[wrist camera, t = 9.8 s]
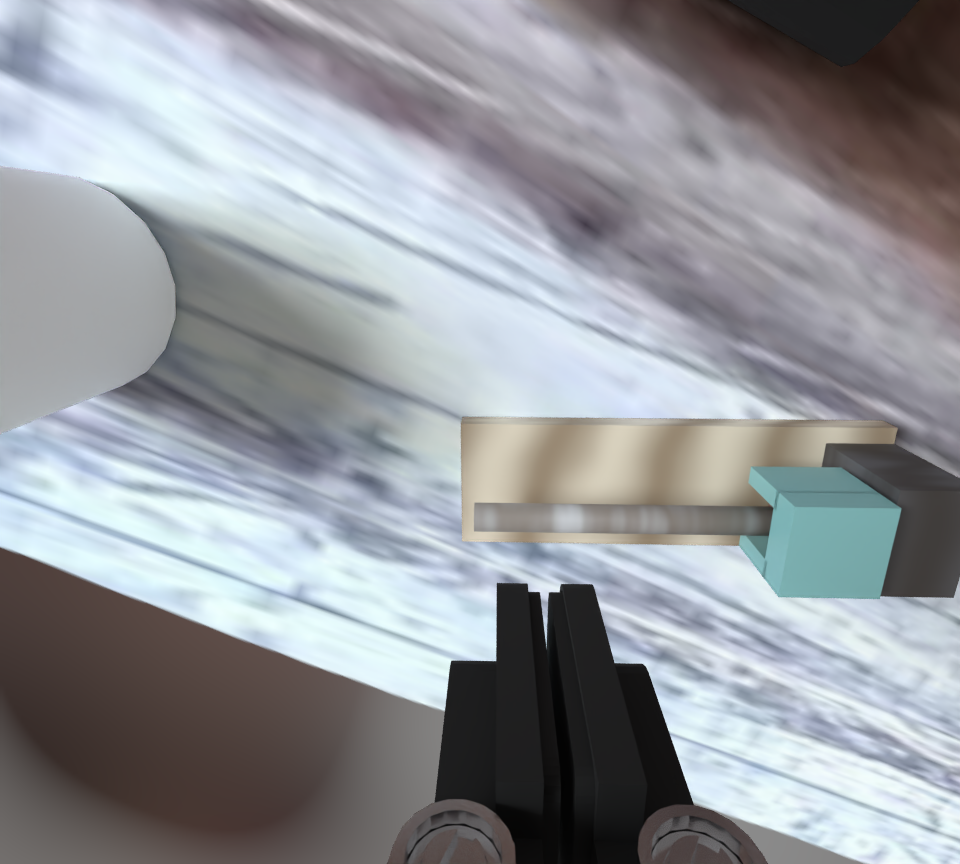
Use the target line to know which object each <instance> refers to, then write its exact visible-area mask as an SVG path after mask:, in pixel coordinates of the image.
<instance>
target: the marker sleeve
mask: <svg viewBox="0 0 960 864" xmlns="http://www.w3.org/2000/svg"><path fill="white" fill-rule="evenodd" d="M748 483H749V484H750V485H751V486H752V487H753V488H754V489H755V490H756V491H757V492H758V493H759V494H760V495H761V496H762V497H763V498H764V499H765V500H766V501H767V502H768V503H769V504H770V505H771V506H772V507H773V508H774V509H773V515H772V521H771V527H770V533H769V536H741V535H740V541H739V546H740V547H741V549H742V550H743V551H744V553H745V554H746V555H747V557H748V558H749V559H750V560H751V562H752V563H753V564H754V566H755V567H756V568H757V570H758V571H759V572H760V573H761V575H762V576H763V577H764V579H765V580H766V581H767V583H768V584H769V585H770V586H771V588H772V589H773V590H774V592H775V593H776V594H777V596H778V597H801V598H856V599H880V595H881V591H882V587H883V583H884V579H885V575H886V571H887V567H888V563H889V558H890V554H891V550H892V546H893V542H894V538H895V534H896V530H897V526H898V522H899V517H900V513H901V509H902V508H900V507H899V506H897V505H896V504H894V503H893V502H891V501H890V500H888V499H887V498H885V497H884V496H882V495H881V494H880V493H878V492H877V491H875V490H874V489H872V488H871V487H869V486H868V485H866V484H865V483H863V482H862V481H860V480H859V479H857V478H856V477H855V476H853V475H852V474H850V473H849V472H847V471H846V470H844V469H843V468H841V467H757V466H751V469H750V475H749V482H748Z"/></svg>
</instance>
